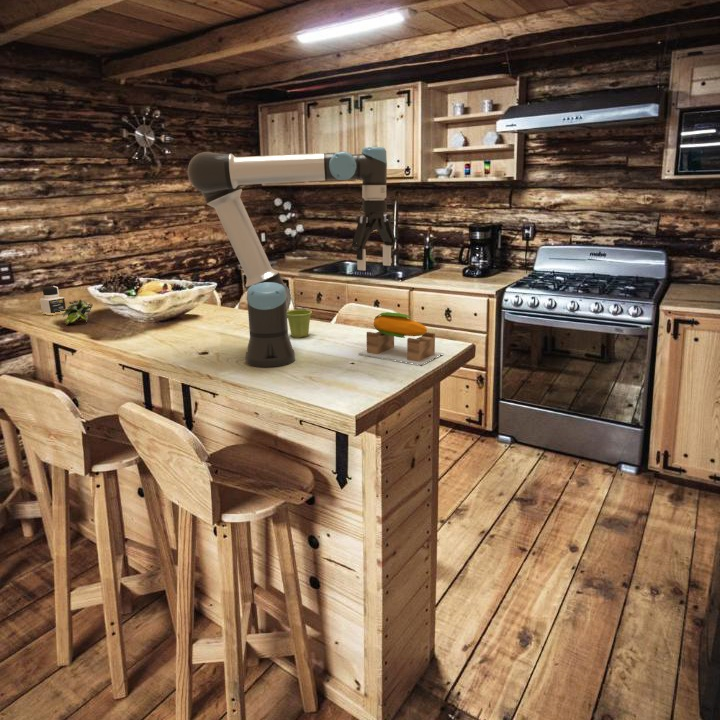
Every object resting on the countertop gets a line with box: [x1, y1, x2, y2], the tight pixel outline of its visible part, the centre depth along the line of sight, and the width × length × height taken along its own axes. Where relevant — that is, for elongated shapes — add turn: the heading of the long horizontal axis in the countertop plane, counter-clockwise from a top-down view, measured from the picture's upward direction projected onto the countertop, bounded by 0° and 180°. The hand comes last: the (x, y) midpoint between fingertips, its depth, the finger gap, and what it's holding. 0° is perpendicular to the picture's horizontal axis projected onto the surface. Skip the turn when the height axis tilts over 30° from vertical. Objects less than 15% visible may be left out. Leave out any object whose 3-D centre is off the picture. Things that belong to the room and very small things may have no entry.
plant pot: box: [287, 309, 313, 338], centre depth 217 cm, size 9×9×9 cm
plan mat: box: [357, 344, 444, 366], centre depth 192 cm, size 14×23×1 cm, turn 55°
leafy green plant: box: [61, 299, 94, 325], centre depth 244 cm, size 11×11×12 cm
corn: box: [373, 311, 428, 339], centre depth 189 cm, size 7×8×20 cm
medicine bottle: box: [39, 285, 67, 313], centre depth 262 cm, size 7×7×12 cm
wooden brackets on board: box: [366, 331, 436, 361], centre depth 191 cm, size 10×19×7 cm, turn 55°
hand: (374, 267), depth 195 cm, fingers open, 13 cm apart
